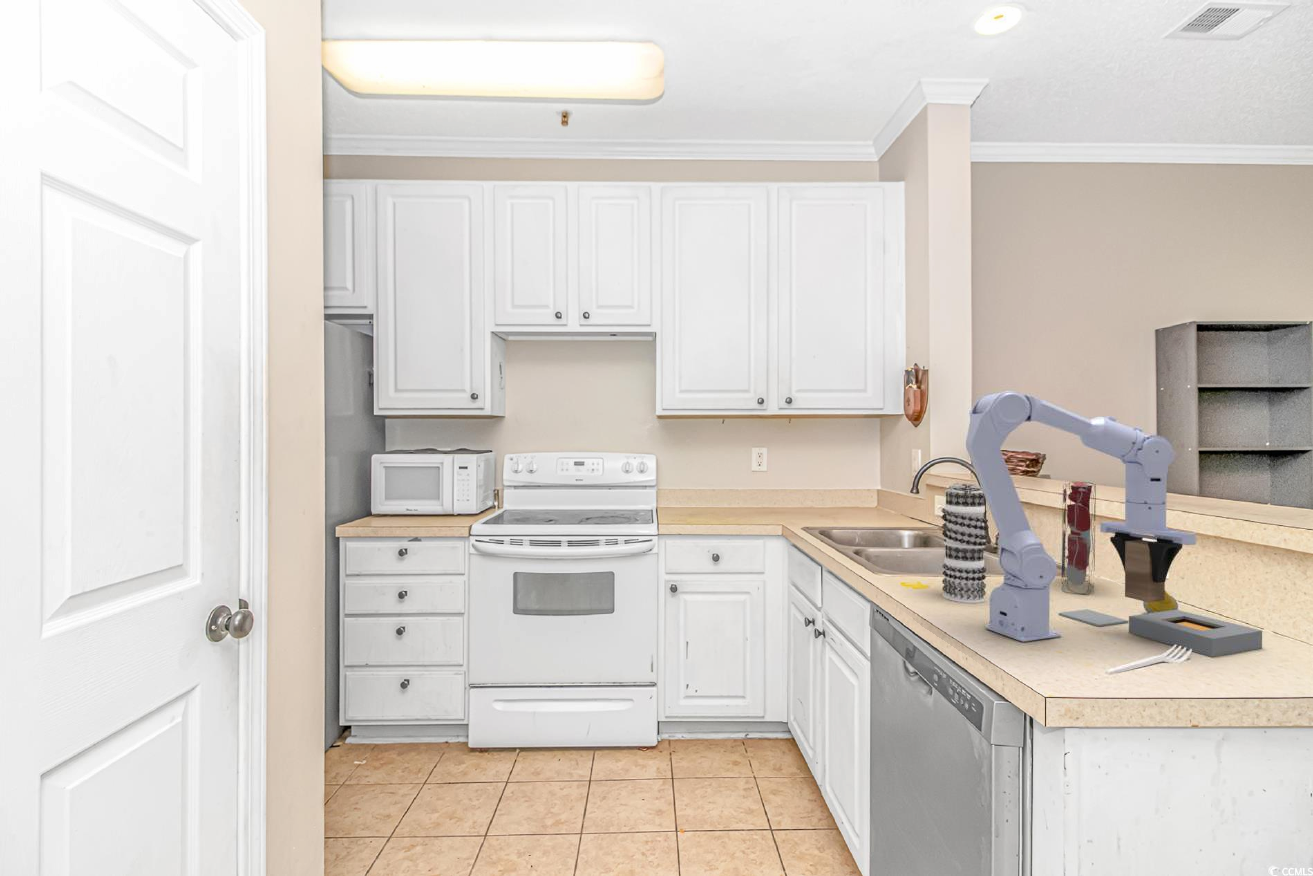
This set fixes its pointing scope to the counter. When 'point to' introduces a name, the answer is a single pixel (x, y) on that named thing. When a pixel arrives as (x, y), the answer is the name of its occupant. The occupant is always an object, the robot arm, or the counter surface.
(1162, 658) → the fork
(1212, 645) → the gray square frame
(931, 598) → the counter surface
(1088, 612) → the flat gray square panel
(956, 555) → the decorative candle
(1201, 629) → the button
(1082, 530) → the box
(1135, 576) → the wooden rectangular post
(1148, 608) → the drill bit
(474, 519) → the counter surface
